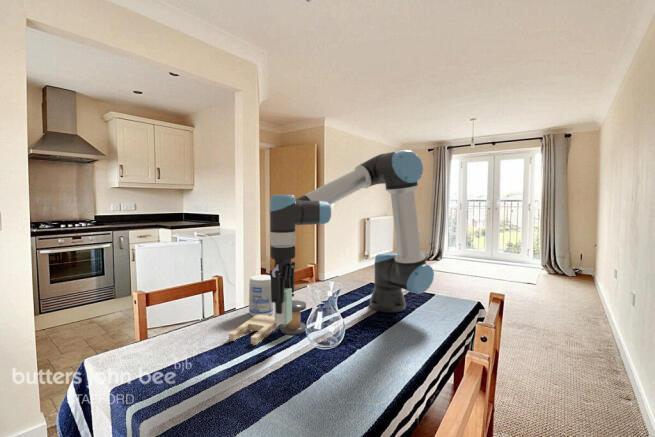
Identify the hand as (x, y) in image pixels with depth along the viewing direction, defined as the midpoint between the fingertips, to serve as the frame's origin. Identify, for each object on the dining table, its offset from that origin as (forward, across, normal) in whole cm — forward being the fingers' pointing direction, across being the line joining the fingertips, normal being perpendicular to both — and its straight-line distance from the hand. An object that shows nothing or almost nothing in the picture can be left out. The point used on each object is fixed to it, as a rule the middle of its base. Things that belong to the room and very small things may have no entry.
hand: (283, 319), depth 98 cm
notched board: (+8, -7, -13) cm, 17 cm away
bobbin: (+9, -13, -2) cm, 16 cm away
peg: (0, 0, 0) cm, 0 cm away
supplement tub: (+9, -23, -20) cm, 32 cm away
